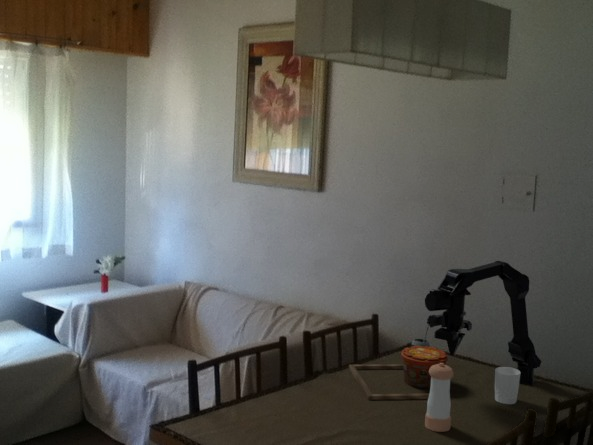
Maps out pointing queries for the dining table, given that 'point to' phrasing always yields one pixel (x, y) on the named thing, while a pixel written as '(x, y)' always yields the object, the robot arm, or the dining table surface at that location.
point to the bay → (382, 396)
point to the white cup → (506, 385)
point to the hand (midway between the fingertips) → (451, 355)
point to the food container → (421, 364)
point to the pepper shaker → (439, 399)
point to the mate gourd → (421, 341)
